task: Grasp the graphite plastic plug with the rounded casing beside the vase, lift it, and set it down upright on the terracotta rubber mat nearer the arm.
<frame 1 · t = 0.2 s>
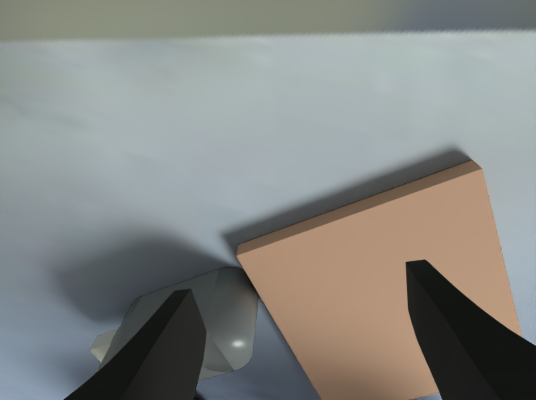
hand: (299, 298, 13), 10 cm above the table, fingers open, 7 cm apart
mat: (388, 304, 26), on the table
plug: (192, 302, 27), on the table
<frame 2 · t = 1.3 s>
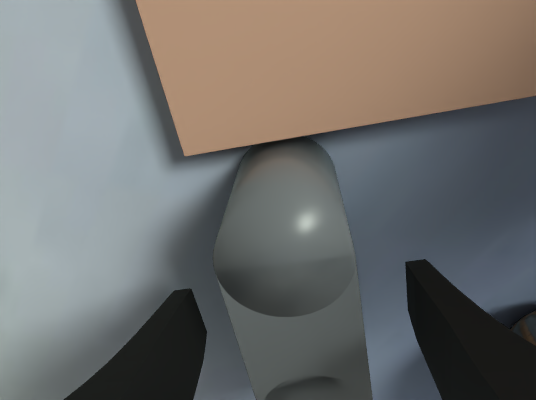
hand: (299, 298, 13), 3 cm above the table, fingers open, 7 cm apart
plug: (299, 248, 16), on the table
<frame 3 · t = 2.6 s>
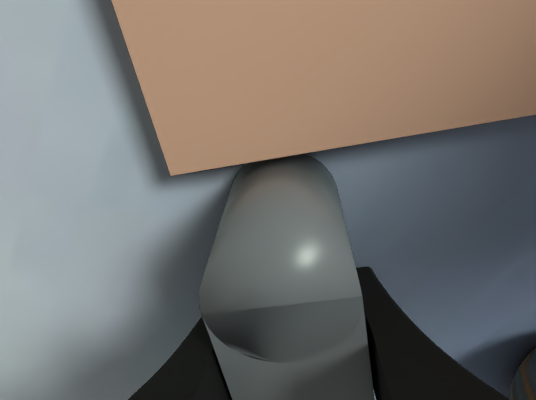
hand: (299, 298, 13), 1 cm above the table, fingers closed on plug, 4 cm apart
plug: (298, 272, 14), on the table, touching gripper
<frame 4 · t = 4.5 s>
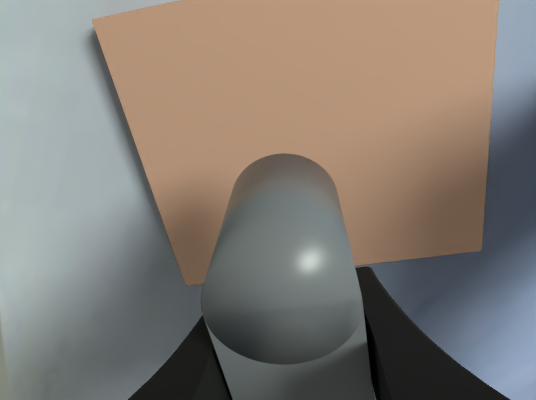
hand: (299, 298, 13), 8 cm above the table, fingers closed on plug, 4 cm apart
mat: (307, 140, 19), on the table
plug: (298, 274, 15), point 7 cm above the table, touching gripper
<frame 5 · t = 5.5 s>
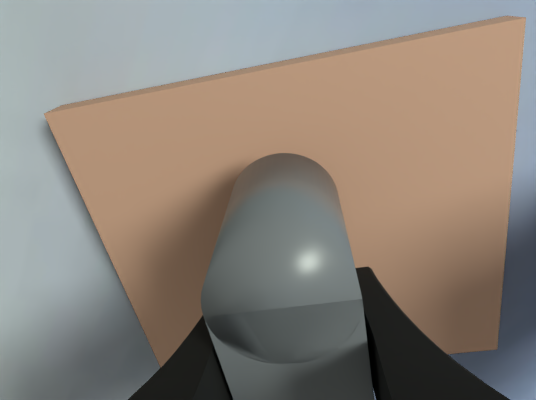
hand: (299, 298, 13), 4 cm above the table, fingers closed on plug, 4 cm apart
mat: (298, 230, 17), on the table
plug: (298, 274, 15), point 3 cm above the table, touching gripper
when the fingers open (4 cm above the table, at t = 6.3 s): plug drops 1 cm, resting on mat.
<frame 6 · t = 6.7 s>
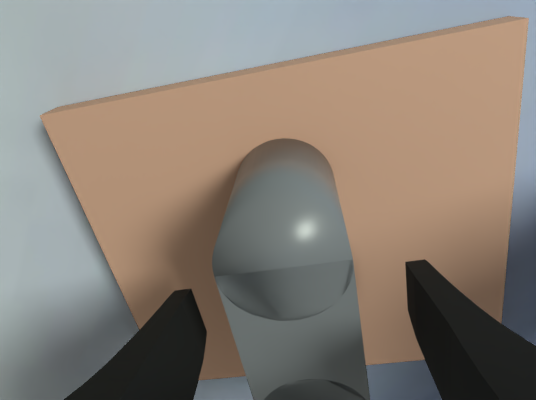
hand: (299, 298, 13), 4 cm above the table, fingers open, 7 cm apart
mat: (297, 233, 17), on the table
plug: (298, 251, 16), point 1 cm above the table, touching mat
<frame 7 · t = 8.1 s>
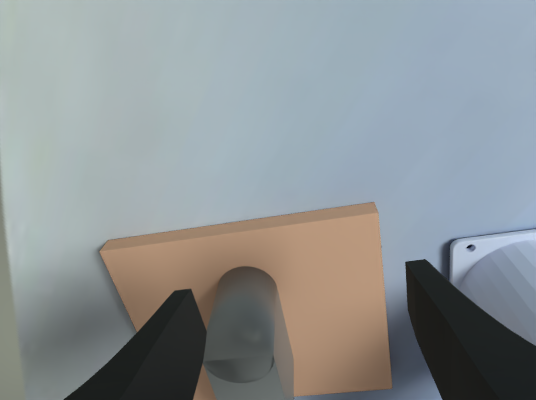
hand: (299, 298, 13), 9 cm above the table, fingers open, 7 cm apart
mat: (259, 312, 26), on the table
plug: (257, 327, 25), point 1 cm above the table, touching mat
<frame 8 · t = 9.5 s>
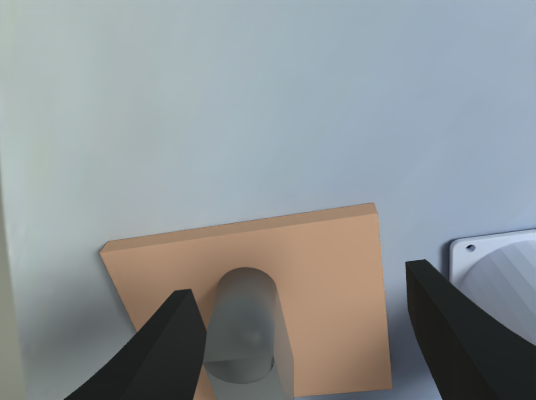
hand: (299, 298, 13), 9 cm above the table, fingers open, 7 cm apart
mat: (259, 312, 26), on the table
plug: (257, 327, 25), point 1 cm above the table, touching mat
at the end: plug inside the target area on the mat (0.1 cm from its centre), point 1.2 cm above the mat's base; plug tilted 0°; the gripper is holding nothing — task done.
